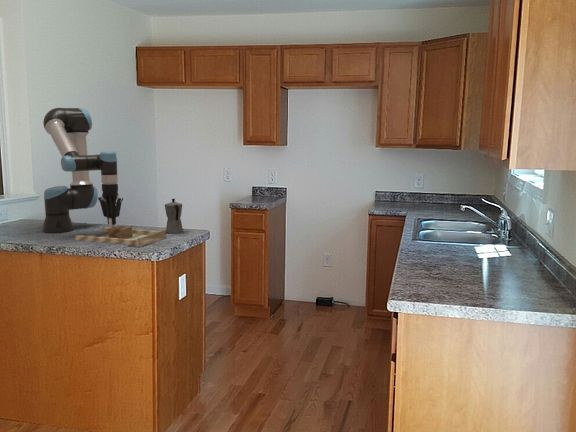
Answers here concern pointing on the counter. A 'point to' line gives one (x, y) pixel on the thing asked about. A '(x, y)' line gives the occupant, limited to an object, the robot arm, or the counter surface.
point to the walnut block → (120, 232)
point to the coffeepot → (173, 217)
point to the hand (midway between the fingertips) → (112, 230)
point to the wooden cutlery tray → (137, 240)
